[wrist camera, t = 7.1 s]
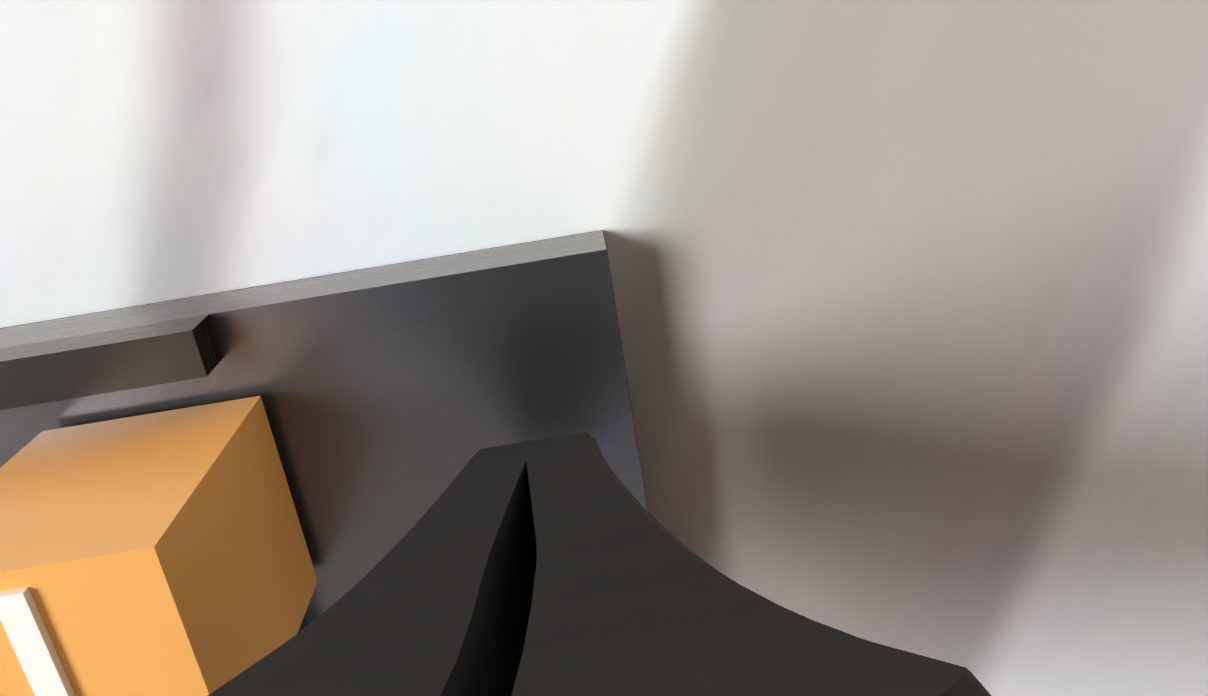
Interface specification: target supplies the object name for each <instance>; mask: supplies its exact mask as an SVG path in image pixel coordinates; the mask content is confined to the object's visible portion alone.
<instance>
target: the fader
mask: <svg viewBox="0 0 1208 696" xmlns="http://www.w3.org/2000/svg"><path fill="white" fill-rule="evenodd" d="M317 582H318V580H317V577H316V574H315V571H314V567H313V564H312V561H311V558H310V554H309V551H308V548H307V545H306V541H305V538H304V535H303V532H302V528H301V525H300V522H299V519H298V515H297V512H296V509H295V506H294V502H293V499H292V496H291V493H290V490H289V486H288V483H287V480H286V477H285V473H284V470H283V467H282V464H281V460H280V457H279V454H278V451H277V447H276V444H275V441H274V438H273V434H272V431H271V428H270V425H269V421H268V418H267V415H266V412H265V408H264V405H263V402H262V399H261V396H256V397H250V398H243V399H237V400H231V401H225V402H219V403H213V404H206V405H200V406H194V407H188V408H182V409H176V410H170V411H163V412H157V413H151V414H145V415H139V416H133V417H126V418H120V419H114V420H108V421H102V422H96V423H90V424H83V425H77V426H71V427H65V428H59V429H53V430H47V431H42V432H41V433H39V434H38V435H37V436H36V437H35V438H34V439H33V440H31V441H30V442H29V443H28V444H27V445H26V446H25V447H23V448H22V449H21V450H20V451H19V452H18V453H17V454H15V455H14V456H13V457H12V458H11V459H10V460H9V461H7V462H6V463H5V464H4V465H3V466H2V467H1V468H0V696H207V695H209V694H211V693H212V692H214V691H215V690H217V689H218V688H220V687H221V686H222V685H224V684H225V683H227V682H228V681H230V680H231V679H233V678H234V677H236V676H237V675H239V674H240V673H242V672H243V671H244V670H246V669H247V668H249V667H250V666H252V665H253V664H255V663H256V662H258V661H259V660H261V659H262V658H264V657H265V656H266V655H268V654H269V653H271V652H272V651H274V650H275V649H277V648H278V647H280V646H281V645H283V644H284V643H285V642H287V641H288V640H289V639H291V638H292V637H293V636H295V635H296V634H297V633H298V631H299V628H300V626H301V623H302V620H303V618H304V615H305V613H306V610H307V608H308V605H309V602H310V600H311V597H312V595H313V592H314V589H315V587H316V584H317Z"/></svg>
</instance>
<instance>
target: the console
mask: <svg viewBox="0 0 1208 696" xmlns="http://www.w3.org/2000/svg"><path fill="white" fill-rule="evenodd" d="M256 396H261V399H262V402H263V405H264V408H265V412H266V415H267V418H268V421H269V425H270V428H271V431H272V434H273V438H274V441H275V444H276V447H277V451H278V454H279V457H280V460H281V464H282V467H283V470H284V473H285V477H286V480H287V483H288V486H289V490H290V493H291V496H292V499H293V502H294V506H295V509H296V512H297V515H298V519H299V522H300V525H301V528H302V532H303V535H304V538H305V541H306V545H307V548H308V551H309V554H310V558H311V561H312V564H313V567H314V571H315V574H316V577H317V580H318V582H317V584H316V587H315V589H314V592H313V595H312V597H311V600H310V602H309V605H308V608H307V610H306V613H305V615H304V618H303V620H302V623H301V626H300V628H299V631H298V633H299V632H300V631H301V630H302V629H304V628H305V627H306V626H307V625H309V624H310V623H311V622H312V621H314V620H315V619H316V618H317V617H319V616H320V615H321V614H322V613H323V612H325V611H326V610H327V609H328V608H330V607H331V606H332V605H333V604H334V603H336V602H337V601H338V600H339V599H340V598H341V597H342V596H344V595H345V594H346V593H347V592H348V591H349V590H350V589H352V588H353V587H354V586H355V585H356V584H357V583H358V582H359V581H360V580H361V579H362V578H364V577H365V576H366V575H367V574H368V572H369V571H370V570H371V569H372V568H373V567H374V566H375V565H376V564H377V563H378V562H379V561H380V560H381V559H382V558H383V557H384V556H385V555H386V554H387V553H388V552H389V551H390V550H391V549H392V548H393V547H394V546H395V545H396V544H397V543H398V542H399V541H400V540H401V539H402V538H403V537H404V536H405V535H406V534H407V533H408V532H409V531H410V530H411V529H412V528H413V527H414V525H415V524H416V523H417V522H418V521H419V520H420V519H421V517H422V516H423V515H424V514H425V513H426V512H427V511H428V509H429V508H430V507H431V506H432V505H433V504H434V502H435V501H436V500H437V499H438V498H439V497H440V495H441V494H442V493H443V492H444V491H445V490H446V488H447V487H448V486H449V485H450V484H451V482H452V481H453V480H454V479H455V478H456V476H457V475H458V474H459V473H460V471H461V470H462V469H463V468H464V467H465V465H466V464H467V463H468V462H469V461H470V459H471V458H472V457H473V456H474V455H475V454H476V453H477V452H478V451H479V450H480V449H482V448H489V447H495V446H501V445H507V444H514V443H520V442H526V441H532V440H538V439H545V438H551V437H557V436H563V435H570V434H576V433H582V432H586V433H588V434H589V435H590V436H592V437H593V438H595V439H596V440H597V445H598V447H599V449H600V451H601V453H602V455H603V457H604V458H605V460H606V461H607V463H608V464H609V466H610V467H611V469H612V470H613V472H614V473H615V474H616V476H617V477H618V478H619V480H620V481H621V482H622V483H623V485H624V486H625V487H626V488H627V489H628V490H629V491H630V493H631V494H632V495H633V496H634V497H635V498H636V499H637V500H638V502H639V503H640V504H641V505H642V506H643V507H644V508H645V509H646V510H647V505H646V498H645V492H644V485H643V479H642V473H641V466H640V460H639V454H638V447H637V441H636V434H635V428H634V422H633V415H632V409H631V402H630V396H629V390H628V383H627V377H626V371H625V364H624V358H623V351H622V345H621V339H620V332H619V326H618V319H617V313H616V307H615V300H614V294H613V288H612V281H611V275H610V268H609V262H608V256H607V249H606V245H605V240H604V236H603V231H602V230H601V231H595V232H589V233H582V234H576V235H570V236H564V237H558V238H552V239H546V240H539V241H533V242H527V243H521V244H515V245H509V246H503V247H497V248H490V249H484V250H478V251H472V252H466V253H460V254H454V255H447V256H441V257H435V258H429V259H423V260H417V261H411V262H404V263H398V264H392V265H386V266H380V267H374V268H368V269H362V270H355V271H349V272H343V273H337V274H331V275H325V276H319V277H312V278H306V279H300V280H294V281H288V282H282V283H276V284H269V285H263V286H257V287H251V288H245V289H239V290H233V291H227V292H220V293H214V294H208V295H202V296H196V297H190V298H184V299H177V300H171V301H165V302H159V303H153V304H147V305H141V306H134V307H128V308H122V309H116V310H110V311H104V312H98V313H91V314H85V315H79V316H73V317H67V318H61V319H55V320H49V321H42V322H36V323H30V324H24V325H18V326H12V327H6V328H0V468H1V467H2V466H3V465H4V464H5V463H6V462H7V461H9V460H10V459H11V458H12V457H13V456H14V455H15V454H17V453H18V452H19V451H20V450H21V449H22V448H23V447H25V446H26V445H27V444H28V443H29V442H30V441H31V440H33V439H34V438H35V437H36V436H37V435H38V434H39V433H41V432H42V431H47V430H53V429H59V428H65V427H71V426H77V425H83V424H90V423H96V422H102V421H108V420H114V419H120V418H126V417H133V416H139V415H145V414H151V413H157V412H163V411H170V410H176V409H182V408H188V407H194V406H200V405H206V404H213V403H219V402H225V401H231V400H237V399H243V398H250V397H256Z"/></svg>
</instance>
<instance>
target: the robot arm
mask: <svg viewBox="0 0 1208 696" xmlns="http://www.w3.org/2000/svg"><path fill="white" fill-rule="evenodd" d="M207 696H991V695H990V694H989V692H988V691H987V690H986V689H985V688H984V687H983V686H982V684H981V683H980V682H979V681H978V680H977V679H976V677H975V676H974V675H973V674H972V673H971V672H970V671H969V670H968V669H967V668H965V667H961V666H958V665H954V664H950V663H947V662H943V661H939V660H936V659H932V658H928V657H925V656H921V655H917V654H914V653H910V652H906V651H902V650H899V649H895V648H891V647H888V646H884V645H880V644H877V643H873V642H870V641H867V640H864V639H861V638H858V637H855V636H853V635H850V634H847V633H845V632H842V631H839V630H837V629H834V628H831V627H829V626H826V625H824V624H821V623H818V622H816V621H813V620H811V619H808V618H806V617H804V616H802V615H799V614H797V613H795V612H793V611H790V610H788V609H786V608H784V607H781V606H779V605H777V604H775V603H773V602H772V601H770V600H768V599H766V598H764V597H762V596H760V595H758V594H756V593H755V592H753V591H751V590H749V589H747V588H745V587H743V586H741V585H739V584H738V583H736V582H734V581H733V580H731V579H729V578H728V577H726V576H724V575H723V574H722V573H720V572H719V571H717V570H716V569H715V568H713V567H712V566H710V565H709V564H708V563H706V562H705V561H703V560H702V559H701V558H699V557H698V556H697V555H696V554H694V553H693V552H692V551H690V550H689V549H688V548H687V547H686V546H684V545H683V544H682V543H681V542H680V541H678V540H677V539H676V538H675V537H674V536H673V535H672V534H671V533H670V532H668V531H667V530H666V529H665V528H664V527H663V526H662V525H661V524H660V523H659V522H658V521H657V520H656V519H655V518H654V517H653V516H652V515H651V514H650V513H649V512H648V511H647V510H646V509H645V508H644V507H643V506H642V505H641V504H640V503H639V502H638V500H637V499H636V498H635V497H634V496H633V495H632V494H631V493H630V491H629V490H628V489H627V488H626V487H625V486H624V485H623V483H622V482H621V481H620V480H619V478H618V477H617V476H616V474H615V473H614V472H613V470H612V469H611V467H610V466H609V464H608V463H607V461H606V460H605V458H604V457H603V455H602V453H601V451H600V449H599V447H598V445H597V440H596V439H595V438H593V437H592V436H590V435H589V434H588V433H586V432H582V433H576V434H570V435H563V436H557V437H551V438H545V439H538V440H532V441H526V442H520V443H514V444H507V445H501V446H495V447H489V448H482V449H480V450H479V451H478V452H477V453H476V454H475V455H474V456H473V457H472V458H471V459H470V461H469V462H468V463H467V464H466V465H465V467H464V468H463V469H462V470H461V471H460V473H459V474H458V475H457V476H456V478H455V479H454V480H453V481H452V482H451V484H450V485H449V486H448V487H447V488H446V490H445V491H444V492H443V493H442V494H441V495H440V497H439V498H438V499H437V500H436V501H435V502H434V504H433V505H432V506H431V507H430V508H429V509H428V511H427V512H426V513H425V514H424V515H423V516H422V517H421V519H420V520H419V521H418V522H417V523H416V524H415V525H414V527H413V528H412V529H411V530H410V531H409V532H408V533H407V534H406V535H405V536H404V537H403V538H402V539H401V540H400V541H399V542H398V543H397V544H396V545H395V546H394V547H393V548H392V549H391V550H390V551H389V552H388V553H387V554H386V555H385V556H384V557H383V558H382V559H381V560H380V561H379V562H378V563H377V564H376V565H375V566H374V567H373V568H372V569H371V570H370V571H369V572H368V574H367V575H366V576H365V577H364V578H362V579H361V580H360V581H359V582H358V583H357V584H356V585H355V586H354V587H353V588H352V589H350V590H349V591H348V592H347V593H346V594H345V595H344V596H342V597H341V598H340V599H339V600H338V601H337V602H336V603H334V604H333V605H332V606H331V607H330V608H328V609H327V610H326V611H325V612H323V613H322V614H321V615H320V616H319V617H317V618H316V619H315V620H314V621H312V622H311V623H310V624H309V625H307V626H306V627H305V628H304V629H302V630H301V631H300V632H299V633H297V634H296V635H295V636H293V637H292V638H291V639H289V640H288V641H287V642H285V643H284V644H283V645H281V646H280V647H278V648H277V649H275V650H274V651H272V652H271V653H269V654H268V655H266V656H265V657H264V658H262V659H261V660H259V661H258V662H256V663H255V664H253V665H252V666H250V667H249V668H247V669H246V670H244V671H243V672H242V673H240V674H239V675H237V676H236V677H234V678H233V679H231V680H230V681H228V682H227V683H225V684H224V685H222V686H221V687H220V688H218V689H217V690H215V691H214V692H212V693H211V694H209V695H207Z"/></svg>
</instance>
